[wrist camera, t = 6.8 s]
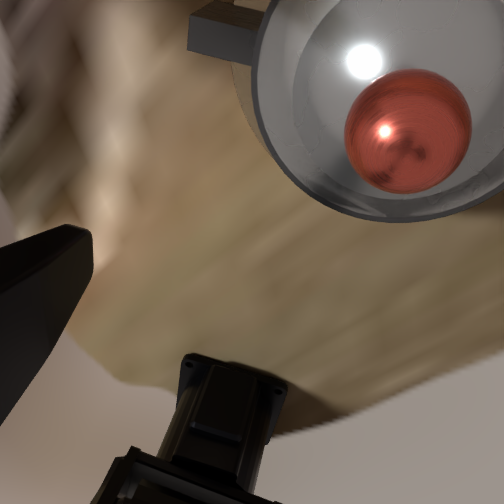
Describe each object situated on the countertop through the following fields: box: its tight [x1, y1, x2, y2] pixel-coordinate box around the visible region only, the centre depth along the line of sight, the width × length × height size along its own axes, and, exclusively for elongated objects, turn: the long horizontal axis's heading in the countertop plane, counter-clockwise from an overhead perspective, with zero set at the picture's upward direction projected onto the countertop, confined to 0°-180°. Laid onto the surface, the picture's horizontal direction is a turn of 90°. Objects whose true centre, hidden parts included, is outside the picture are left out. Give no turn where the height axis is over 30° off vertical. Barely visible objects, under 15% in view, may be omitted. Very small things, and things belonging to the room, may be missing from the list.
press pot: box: [187, 0, 504, 223], centre depth 15 cm, size 12×12×4 cm
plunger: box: [292, 0, 504, 200], centre depth 12 cm, size 6×6×4 cm
